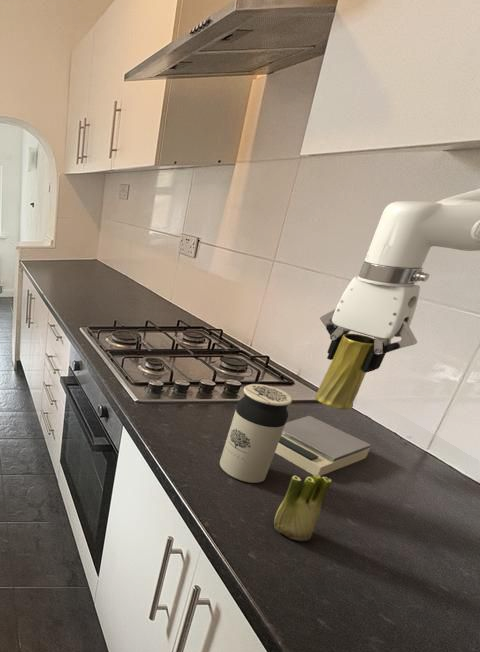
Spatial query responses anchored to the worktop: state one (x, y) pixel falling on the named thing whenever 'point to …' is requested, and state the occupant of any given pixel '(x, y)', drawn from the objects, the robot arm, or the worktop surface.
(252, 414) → the travel mug
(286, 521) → the fennel bulb
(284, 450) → the scale
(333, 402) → the vase
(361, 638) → the worktop surface
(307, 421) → the gray slab
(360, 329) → the robot arm
